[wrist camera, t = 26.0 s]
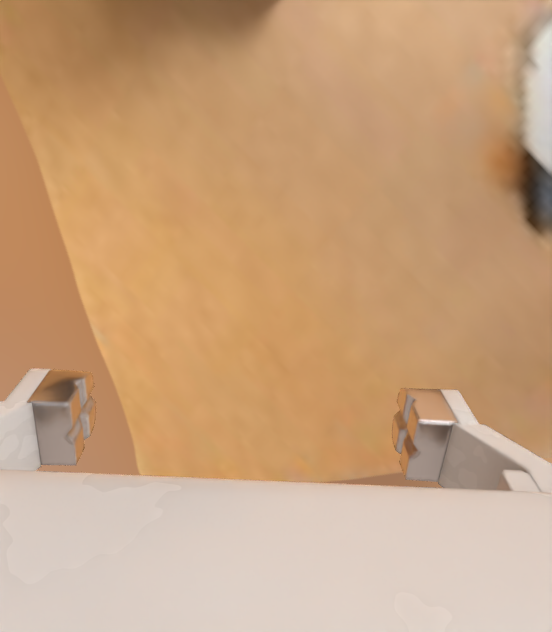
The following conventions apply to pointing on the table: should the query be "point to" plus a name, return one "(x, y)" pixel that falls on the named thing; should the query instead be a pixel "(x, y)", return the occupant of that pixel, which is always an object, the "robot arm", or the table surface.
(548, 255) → the table surface
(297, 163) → the table surface
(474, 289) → the table surface
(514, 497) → the robot arm
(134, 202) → the table surface
